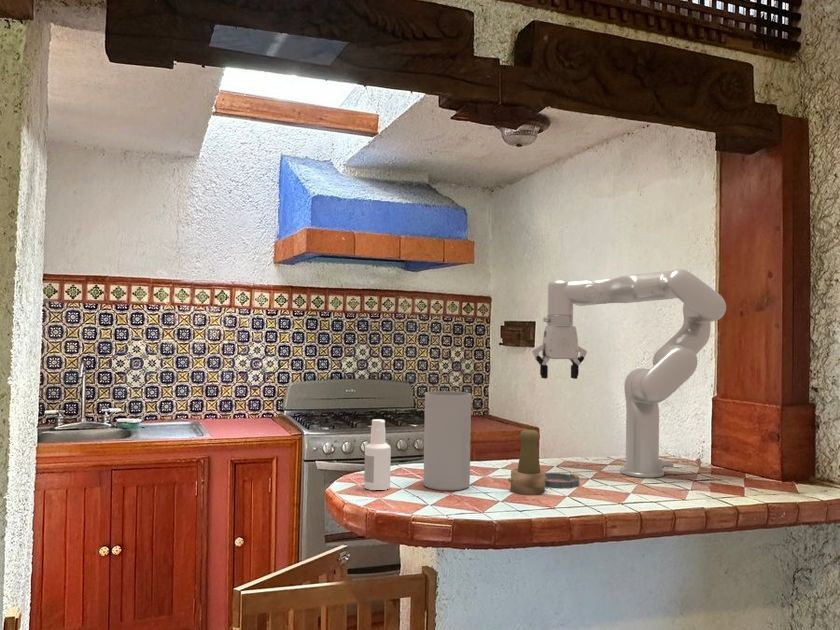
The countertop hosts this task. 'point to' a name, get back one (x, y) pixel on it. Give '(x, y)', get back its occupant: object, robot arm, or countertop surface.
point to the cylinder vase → (447, 440)
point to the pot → (527, 482)
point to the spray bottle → (377, 458)
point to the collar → (570, 481)
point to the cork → (529, 452)
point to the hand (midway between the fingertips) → (559, 378)
